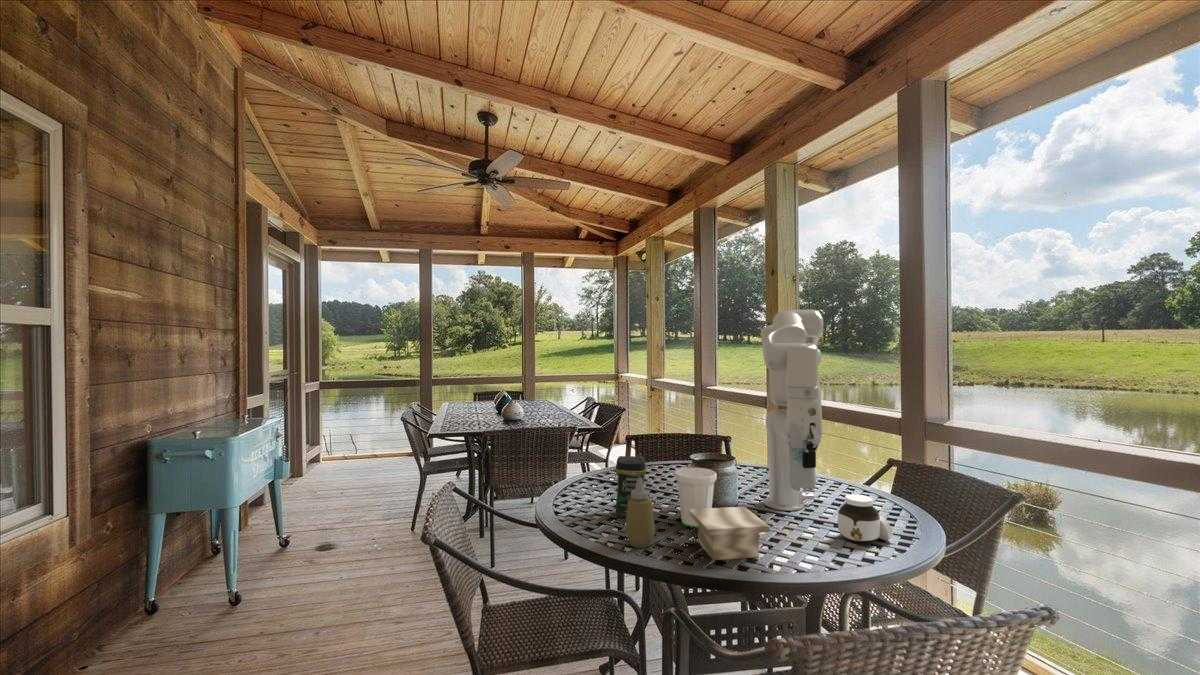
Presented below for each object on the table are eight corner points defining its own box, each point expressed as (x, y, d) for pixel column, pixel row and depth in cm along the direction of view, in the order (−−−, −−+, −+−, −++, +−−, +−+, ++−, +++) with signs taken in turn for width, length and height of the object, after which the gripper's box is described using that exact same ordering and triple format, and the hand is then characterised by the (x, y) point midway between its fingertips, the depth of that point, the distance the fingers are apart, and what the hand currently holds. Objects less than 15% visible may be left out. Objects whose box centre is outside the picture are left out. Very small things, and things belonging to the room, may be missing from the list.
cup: (723, 528, 159) (723, 476, 159) (682, 531, 157) (682, 478, 157) (708, 515, 171) (707, 466, 171) (670, 517, 169) (669, 468, 169)
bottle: (812, 485, 141) (812, 409, 141) (820, 493, 134) (820, 413, 134) (785, 485, 142) (785, 409, 141) (792, 493, 135) (792, 413, 135)
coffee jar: (614, 518, 168) (613, 458, 168) (617, 510, 176) (616, 453, 176) (645, 520, 167) (645, 459, 167) (647, 511, 175) (646, 454, 175)
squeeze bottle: (625, 538, 152) (624, 474, 152) (654, 538, 151) (653, 474, 151) (625, 550, 144) (625, 482, 144) (656, 550, 143) (655, 482, 143)
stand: (744, 536, 152) (744, 506, 152) (769, 559, 137) (769, 526, 137) (689, 540, 150) (689, 509, 150) (708, 563, 134) (707, 529, 134)
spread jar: (834, 538, 151) (833, 496, 151) (855, 529, 158) (855, 489, 158) (877, 551, 141) (877, 506, 141) (898, 541, 148) (897, 498, 148)
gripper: (834, 397, 130) (835, 472, 130) (799, 389, 147) (799, 455, 147) (805, 398, 129) (805, 474, 129) (772, 390, 146) (773, 457, 146)
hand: (802, 463), depth 138 cm, fingers closed on bottle, 5 cm apart
